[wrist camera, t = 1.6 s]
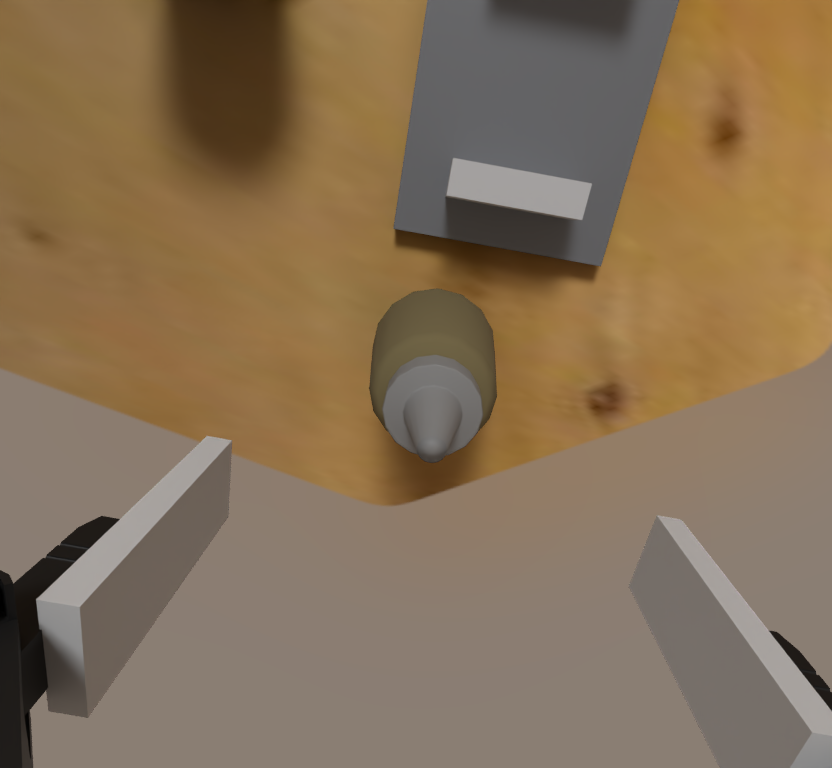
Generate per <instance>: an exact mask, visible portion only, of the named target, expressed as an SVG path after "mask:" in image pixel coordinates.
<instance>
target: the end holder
mask: <svg viewBox="0 0 832 768" xmlns="http://www.w3.org/2000/svg"><path fill="white" fill-rule="evenodd" d="M678 2H679V0H428V1H427V8H426V14H425V21H424V28H423V35H422V41H421V48H420V55H419V61H418V68H417V75H416V81H415V88H414V95H413V102H412V108H411V115H410V122H409V128H408V135H407V142H406V148H405V155H404V162H403V168H402V175H401V182H400V189H399V195H398V202H397V209H396V215H395V222H394V229H399V230H404V231H410V232H415V233H421V234H426V235H431V236H437V237H442V238H448V239H453V240H459V241H464V242H470V243H475V244H481V245H486V246H492V247H497V248H503V249H508V250H514V251H519V252H525V253H530V254H536V255H541V256H547V257H552V258H558V259H563V260H569V261H574V262H580V263H585V264H591V265H596V266H601V264H602V261H603V257H604V254H605V250H606V247H607V244H608V240H609V237H610V233H611V230H612V227H613V223H614V220H615V216H616V213H617V210H618V206H619V203H620V199H621V196H622V193H623V189H624V186H625V182H626V179H627V176H628V172H629V169H630V165H631V162H632V159H633V155H634V152H635V148H636V145H637V142H638V138H639V135H640V131H641V128H642V125H643V121H644V118H645V114H646V111H647V108H648V104H649V101H650V97H651V94H652V91H653V87H654V84H655V80H656V77H657V74H658V70H659V67H660V63H661V60H662V57H663V53H664V50H665V46H666V43H667V40H668V36H669V33H670V29H671V26H672V23H673V19H674V16H675V12H676V9H677V6H678Z"/></svg>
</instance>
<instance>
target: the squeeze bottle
mask: <svg viewBox="0 0 832 768" xmlns="http://www.w3.org/2000/svg"><path fill="white" fill-rule="evenodd" d="M369 389H370V395H371V400H372V405H373V411H374V413H375V414H376V416H377V417H378V419H379V420H380V422H381V423H382V425H383V426H384V428H385V429H386V431H388V432H389V433H390V434H391V436H392V437H393V439H394V440H395V442H396V443H398V444H399V445H401V446H402V447H404V448H405V449H407V450H408V451H409V452H411V453H415V454H418V455H419V457H420V458H421V459H422V460H424V461H425V462H429V463H434V462H438V461H440V460H442V459H443V458H444V457H445V455H449V454H451V453H453V452H455V451H457V450H459V449H461V448H463V447H465V446H466V445H467V444H468V443H469V442H470V441H471V439H472V438H473V437H474V436H475V435H476V434H477V433H478V431H479V430H480V429H481V428H482V426H483V425H484V424H485V423H486V422H487V421H488V420H489V418H490V415H491V412H492V409H493V406H494V403H495V400H496V397H497V390H496V369H495V351H494V340H493V330H492V329H491V327H490V325H489V323H488V321H487V320H486V318H485V316H484V314H483V312H482V310H481V309H480V308H478V307H477V306H476V305H474V304H473V303H472V302H470V301H469V300H468V299H467V298H465V297H464V296H463V295H461V294H457V293H453V292H449V291H445V290H442V289H431V290H424V291H416V292H412V293H411V294H409V295H407V296H406V297H404V298H402V299H401V300H399V301H397V302H395V303H394V304H392V305H391V307H390V308H389V310H388V311H387V312H386V314H385V315H384V316H383V318H382V319H381V320H380V322H379V323H378V327H377V331H376V335H375V339H374V344H373V351H372V363H371V375H370V387H369Z"/></svg>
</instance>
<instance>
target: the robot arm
mask: <svg viewBox="0 0 832 768" xmlns="http://www.w3.org/2000/svg"><path fill="white" fill-rule="evenodd" d="M231 452H232V440H227V439H221V438H215V437H210V436H207V437H205V438H204V439H203V440H202V441H201V442H200V443H199V444H198V445H197V446H196V447H195V448H194V449H193V450H192V451H191V452H190V453H189V454H188V455H187V456H186V457H185V458H184V459H183V460H182V461H180V462H179V463H178V464H177V465H176V466H175V467H174V468H173V469H172V470H171V471H170V472H169V473H168V474H167V475H166V476H165V477H164V478H163V479H162V480H161V481H159V482H158V483H157V484H156V485H155V486H154V487H153V488H152V489H151V490H150V491H149V492H148V493H147V494H146V495H145V496H144V497H143V498H142V499H141V500H140V501H139V502H138V503H136V504H135V505H134V506H133V507H132V508H131V509H130V510H129V511H128V512H127V513H126V514H125V515H124V516H123V517H122V518H121V519H116V518H110V517H104V516H101V517H98V518H97V519H95V520H93V521H90V522H88V523H86V524H84V525H82V526H80V527H78V528H77V529H76V530H75V531H74V532H73V533H71V534H70V535H69V536H68V537H67V538H66V539H65V540H63V541H62V542H61V544H60V546H59V545H58V546H56V547H55V548H54V549H53V550H52V551H51V552H49V553H48V554H47V556H46V558H43V559H41V560H40V561H39V562H38V563H37V564H36V565H35V566H33V567H32V568H31V569H30V570H29V571H28V572H26V573H25V574H24V575H23V576H22V577H21V578H19V579H18V580H17V581H16V582H15V583H14V584H13V582H12V580H11V578H10V575H9V574H7V573H5V572H3V571H1V570H0V768H33V755H32V735H31V717H30V709H31V708H32V707H33V705H34V704H35V703H36V702H37V700H38V699H39V698H40V697H41V696H42V694H43V693H44V692H45V691H46V692H47V701H48V710H49V711H51V712H57V713H63V714H69V715H75V716H81V717H86V718H88V717H89V716H90V714H91V713H92V711H93V710H94V708H95V707H96V706H97V704H98V703H99V701H100V700H101V698H102V697H103V696H104V694H105V693H106V691H107V690H108V688H109V687H110V686H111V684H112V683H113V681H114V680H115V678H116V677H117V675H118V674H119V673H120V671H121V670H122V668H123V667H124V665H125V664H126V663H127V661H128V660H129V658H130V657H131V655H132V654H133V653H134V651H135V650H136V648H137V647H138V645H139V644H140V643H141V641H142V640H143V638H144V637H145V635H146V634H147V632H148V631H149V630H150V628H151V627H152V625H153V624H154V623H155V621H156V619H157V618H158V617H159V615H160V614H161V612H162V611H163V609H164V608H165V607H166V605H167V604H168V602H169V601H170V599H171V598H172V597H173V595H174V594H175V592H176V591H177V590H178V588H179V587H180V585H181V584H182V582H183V581H184V580H185V578H186V577H187V575H188V574H189V572H190V571H191V569H192V567H193V566H194V565H195V564H196V562H197V561H198V559H199V558H200V557H201V555H202V554H203V552H204V551H205V549H206V548H207V547H208V545H209V544H210V542H211V541H212V539H213V538H214V537H215V535H216V534H217V532H218V531H219V529H220V528H221V526H222V525H223V524H224V522H225V521H226V519H227V518H228V510H229V491H230V471H231ZM629 588H630V590H631V592H632V594H633V596H634V598H635V600H636V602H637V604H638V606H639V608H640V610H641V612H642V614H643V616H644V618H645V620H646V622H647V624H648V626H649V628H650V630H651V632H652V634H653V636H654V638H655V640H656V642H657V644H658V646H659V648H660V650H661V652H662V654H663V656H664V658H665V660H666V662H667V664H668V666H669V668H670V670H671V672H672V674H673V676H674V678H675V680H676V682H677V684H678V686H679V688H680V690H681V692H682V694H683V696H684V698H685V700H686V702H687V704H688V706H689V708H690V710H691V711H692V714H693V716H694V718H695V720H696V722H697V724H698V726H699V728H700V730H701V731H702V734H703V736H704V738H705V740H706V741H707V743H708V745H709V748H710V749H711V751H712V753H713V755H714V757H715V759H716V761H717V763H718V765H719V767H720V768H832V692H830V688H829V687H828V685H827V684H826V683H825V682H824V680H823V679H822V678H821V677H820V676H819V675H816V671H815V669H814V668H813V667H812V666H811V665H810V663H809V662H808V661H807V660H806V659H805V657H804V656H803V655H802V654H801V653H800V651H799V650H797V649H796V648H795V647H794V646H793V645H792V644H790V643H789V642H788V641H787V640H786V639H784V638H783V637H782V636H781V635H780V634H779V633H777V632H774V631H769V630H768V629H767V628H766V627H765V626H764V624H763V623H762V622H761V620H760V619H759V618H758V617H757V616H756V614H755V613H754V612H753V610H752V609H751V608H750V606H749V605H748V604H747V603H746V601H745V600H744V599H743V597H742V596H741V595H740V594H739V593H738V591H737V590H736V589H735V587H734V586H733V585H732V584H731V582H730V581H729V580H728V578H727V577H726V576H725V575H724V573H723V572H722V571H721V569H720V568H719V567H718V566H717V564H716V563H715V562H714V561H713V559H712V558H711V557H710V555H709V554H708V553H707V552H706V550H705V549H704V548H703V547H702V546H701V544H700V543H699V541H698V540H697V539H696V538H695V536H694V535H693V534H692V533H691V531H690V530H689V529H688V528H687V526H686V525H685V524H684V522H683V521H682V520H680V519H675V518H669V517H663V516H658V515H657V516H656V519H655V521H654V524H653V527H652V529H651V531H650V534H649V536H648V539H647V542H646V544H645V547H644V549H643V552H642V554H641V557H640V559H639V562H638V564H637V567H636V569H635V572H634V574H633V577H632V579H631V582H630V584H629Z"/></svg>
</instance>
